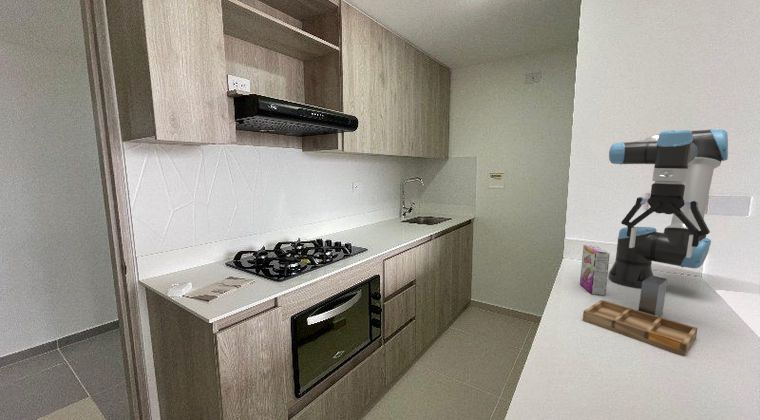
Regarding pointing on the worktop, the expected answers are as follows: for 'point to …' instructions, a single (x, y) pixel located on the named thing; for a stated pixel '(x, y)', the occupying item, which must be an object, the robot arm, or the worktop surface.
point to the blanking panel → (653, 295)
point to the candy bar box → (594, 269)
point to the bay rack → (642, 326)
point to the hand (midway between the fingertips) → (658, 252)
